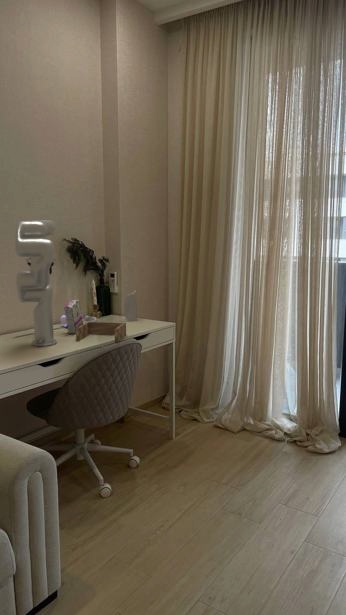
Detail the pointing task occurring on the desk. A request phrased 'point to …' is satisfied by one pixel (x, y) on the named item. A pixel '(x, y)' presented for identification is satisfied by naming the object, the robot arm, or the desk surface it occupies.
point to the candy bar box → (73, 315)
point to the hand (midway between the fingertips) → (41, 274)
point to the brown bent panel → (101, 330)
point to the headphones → (87, 319)
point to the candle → (130, 307)
